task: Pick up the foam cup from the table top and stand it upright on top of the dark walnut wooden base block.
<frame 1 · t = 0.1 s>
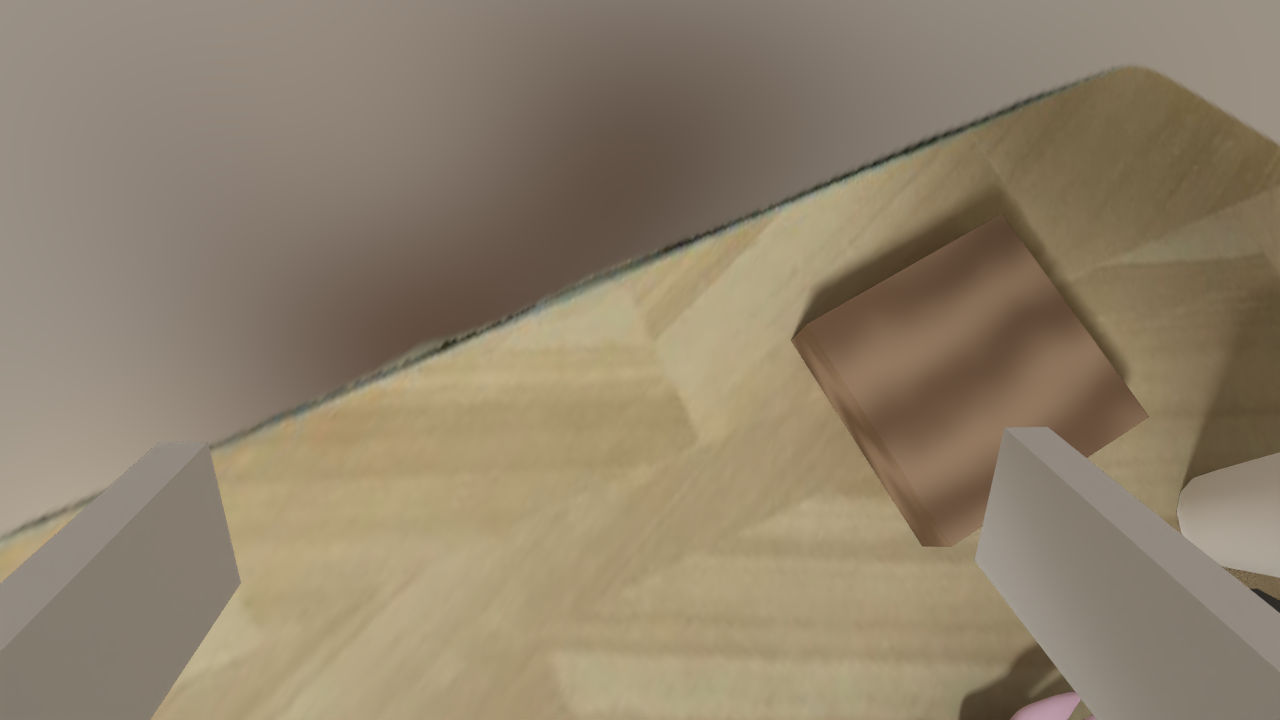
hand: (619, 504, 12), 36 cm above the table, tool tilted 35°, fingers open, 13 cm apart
walnut base: (948, 383, 51), on the table
foam cup: (1219, 519, 50), on the table
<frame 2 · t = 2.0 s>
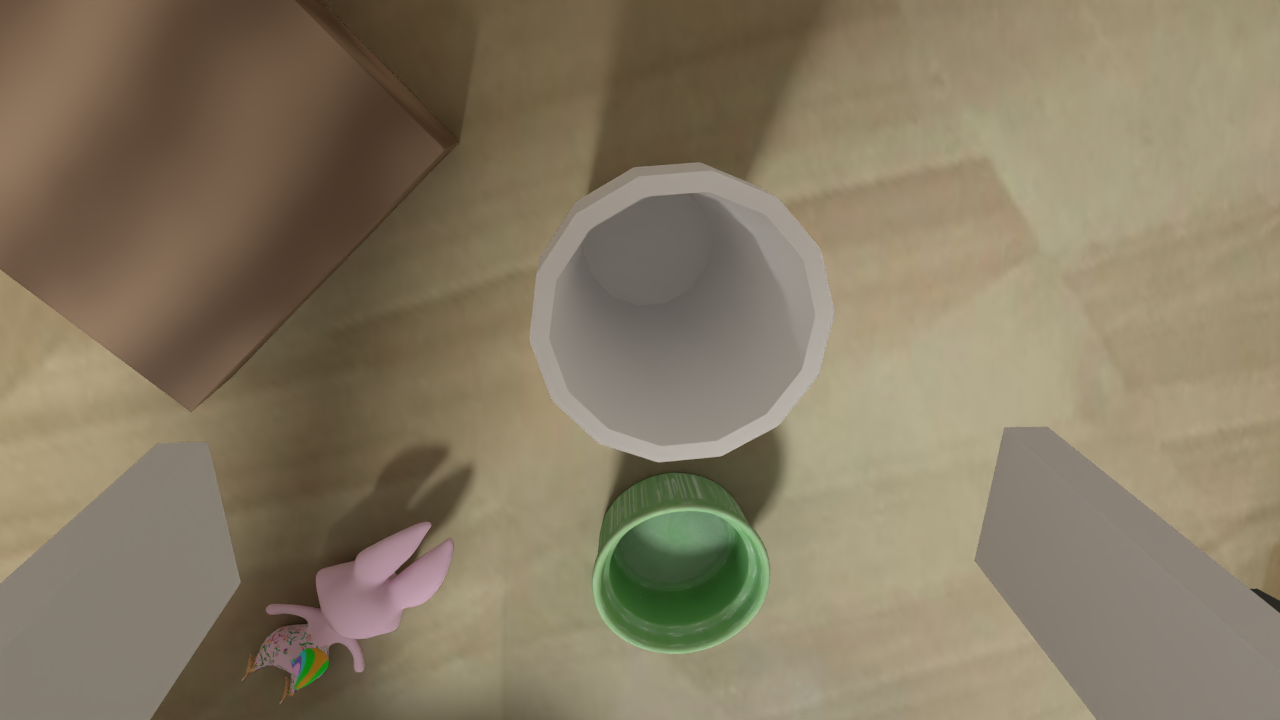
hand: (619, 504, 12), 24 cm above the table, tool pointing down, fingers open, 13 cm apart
ramekin: (671, 531, 41), on the table
rabbit figure: (359, 585, 41), on the table
walnut base: (190, 132, 32), on the table
foam cup: (646, 240, 35), on the table
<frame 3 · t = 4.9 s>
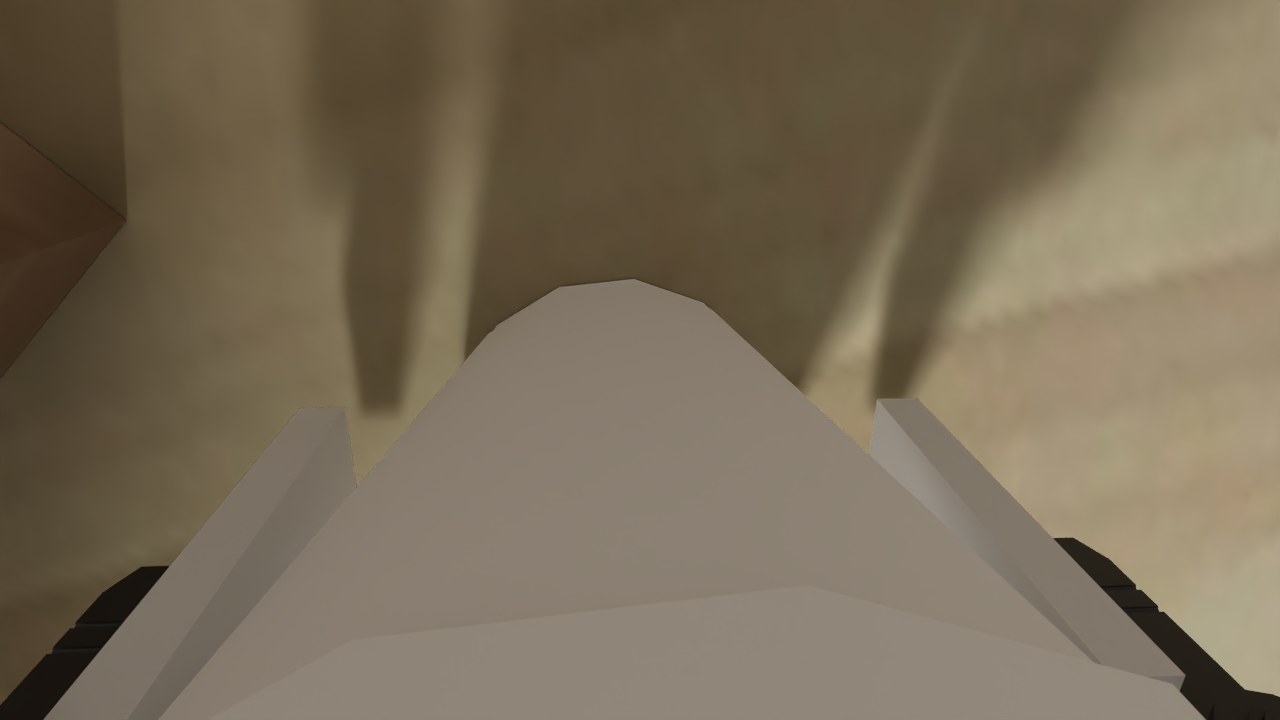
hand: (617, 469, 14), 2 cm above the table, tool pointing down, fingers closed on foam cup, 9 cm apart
foam cup: (613, 424, 15), on the table, touching gripper
when the fingers open (7 cm above the table, at t = 11.7 s): foam cup drops 1 cm, resting on walnut base.
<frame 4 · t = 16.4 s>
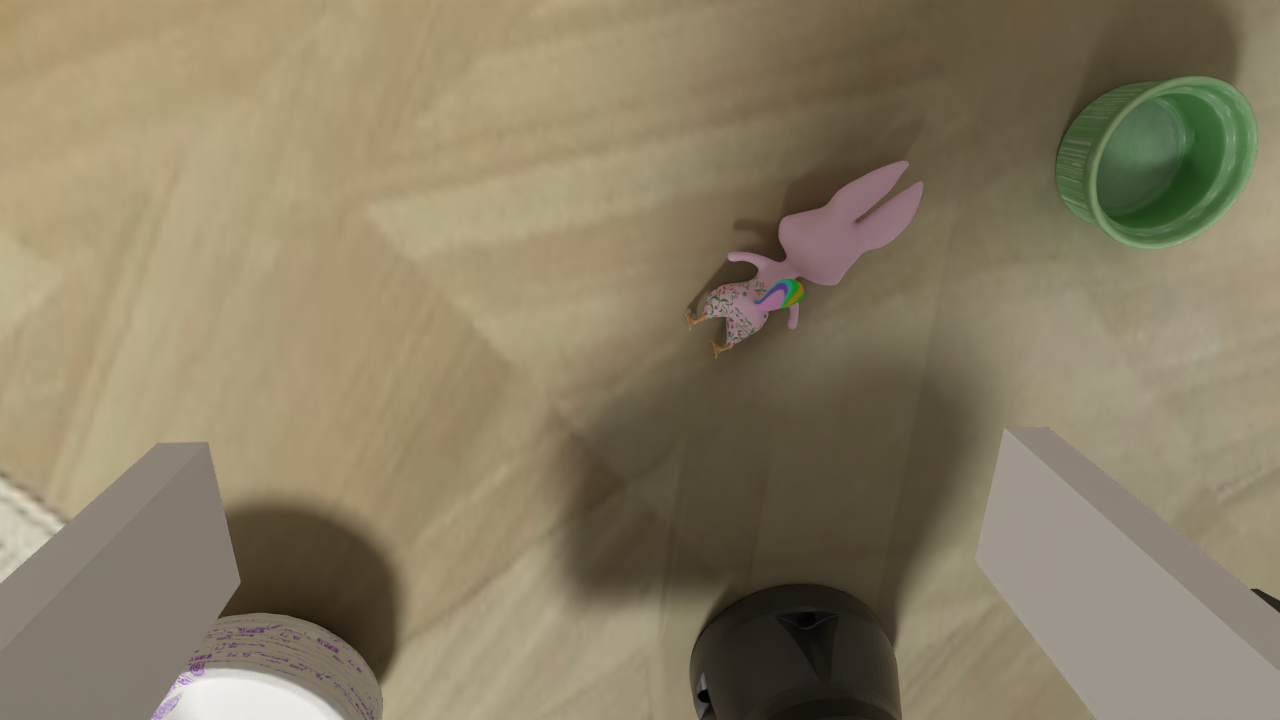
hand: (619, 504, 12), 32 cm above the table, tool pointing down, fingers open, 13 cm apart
ramekin: (1117, 155, 43), on the table
rabbit figure: (792, 251, 44), on the table
white bowl: (287, 665, 53), on the table
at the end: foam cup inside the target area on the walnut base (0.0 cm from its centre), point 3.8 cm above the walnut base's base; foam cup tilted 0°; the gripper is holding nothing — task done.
